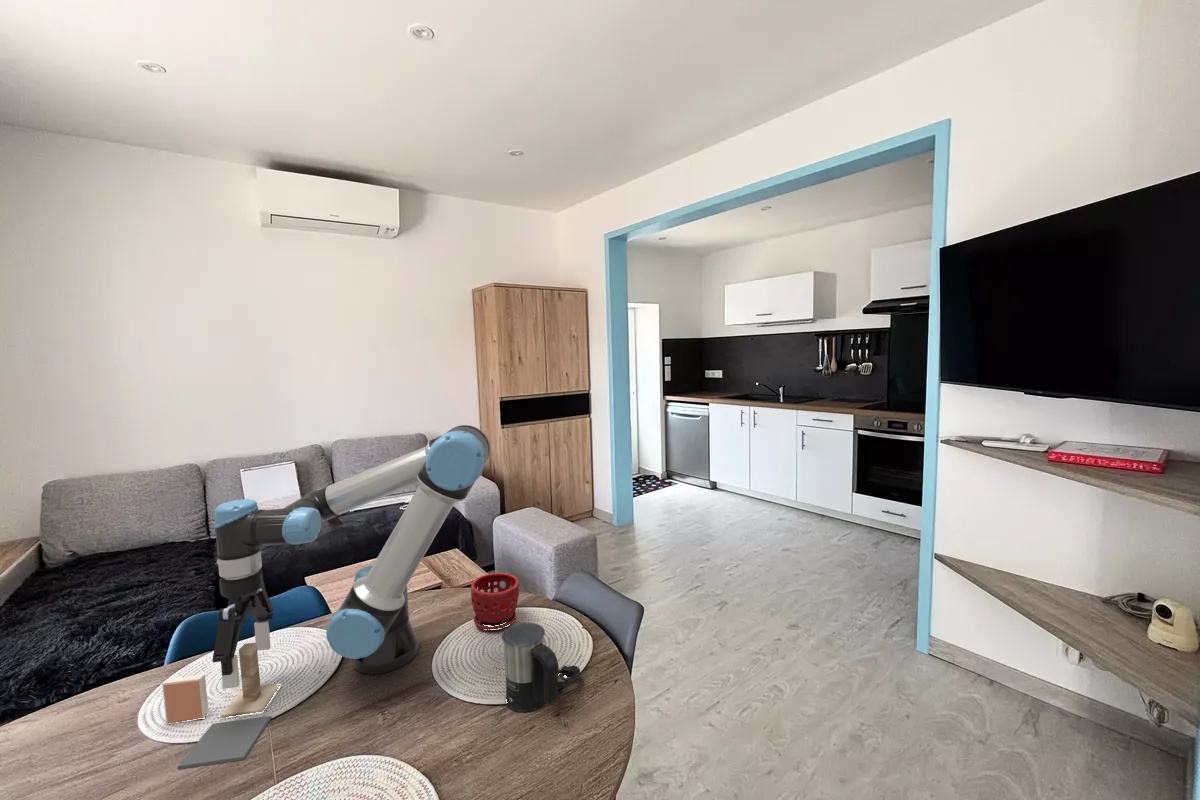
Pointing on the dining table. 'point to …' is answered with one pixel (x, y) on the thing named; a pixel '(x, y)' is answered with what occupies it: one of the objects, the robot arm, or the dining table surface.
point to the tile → (185, 698)
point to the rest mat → (225, 742)
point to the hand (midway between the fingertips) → (248, 667)
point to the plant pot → (494, 600)
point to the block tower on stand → (250, 685)
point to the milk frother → (531, 668)
